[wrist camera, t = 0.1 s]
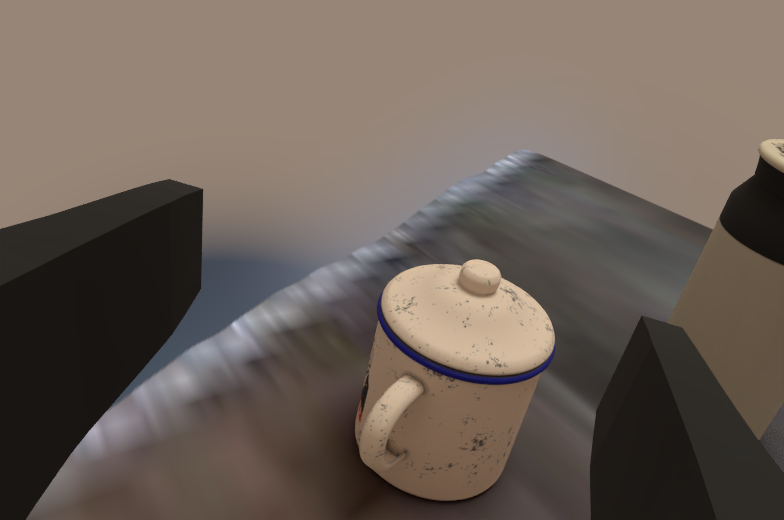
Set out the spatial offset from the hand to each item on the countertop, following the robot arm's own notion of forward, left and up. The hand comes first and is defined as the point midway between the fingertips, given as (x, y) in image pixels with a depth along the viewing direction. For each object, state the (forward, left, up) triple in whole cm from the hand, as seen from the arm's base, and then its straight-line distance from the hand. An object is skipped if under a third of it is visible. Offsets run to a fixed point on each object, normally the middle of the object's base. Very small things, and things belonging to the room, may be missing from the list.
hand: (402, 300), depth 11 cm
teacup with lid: (+19, -1, -22) cm, 29 cm away
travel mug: (+31, -18, -22) cm, 42 cm away
